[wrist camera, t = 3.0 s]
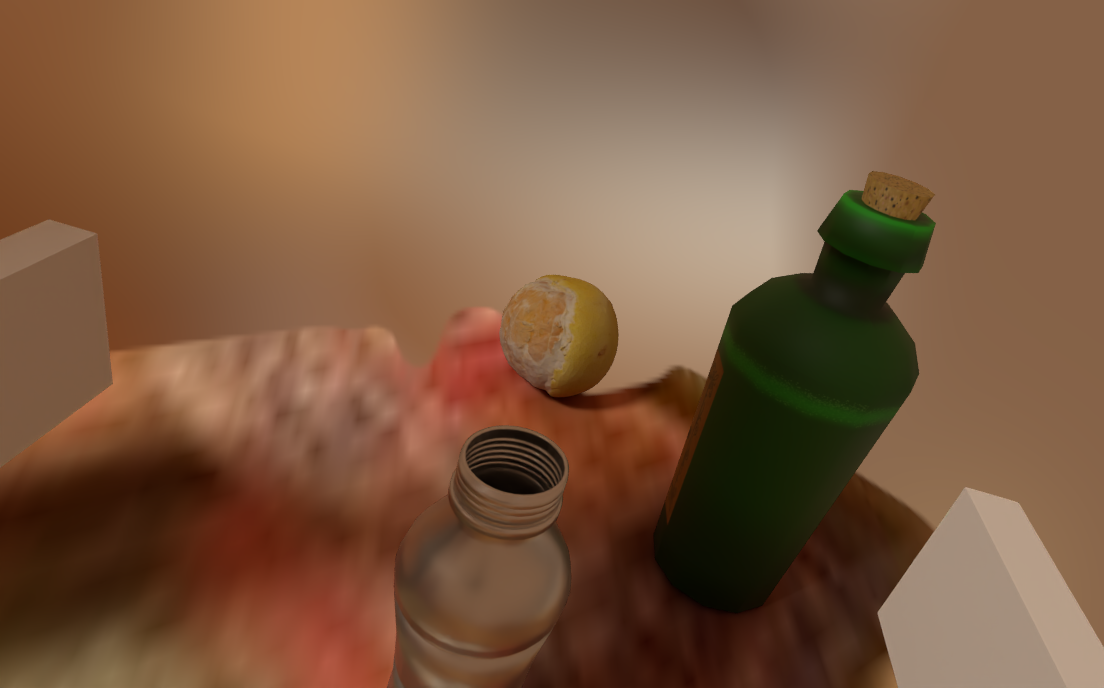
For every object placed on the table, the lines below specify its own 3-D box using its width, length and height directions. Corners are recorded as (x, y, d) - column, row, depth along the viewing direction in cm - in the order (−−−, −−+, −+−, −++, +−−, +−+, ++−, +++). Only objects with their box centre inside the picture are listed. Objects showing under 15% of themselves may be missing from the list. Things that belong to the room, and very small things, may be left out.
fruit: (545, 339, 71) (570, 248, 65) (624, 400, 65) (658, 305, 60) (463, 363, 64) (483, 263, 59) (543, 434, 58) (573, 329, 53)
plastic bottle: (520, 823, 33) (649, 516, 23) (373, 877, 30) (447, 550, 20) (476, 695, 38) (567, 393, 28) (345, 731, 35) (392, 406, 25)
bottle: (747, 510, 56) (924, 164, 41) (812, 631, 47) (1065, 245, 33) (618, 505, 53) (762, 132, 39) (662, 633, 44) (869, 210, 30)
